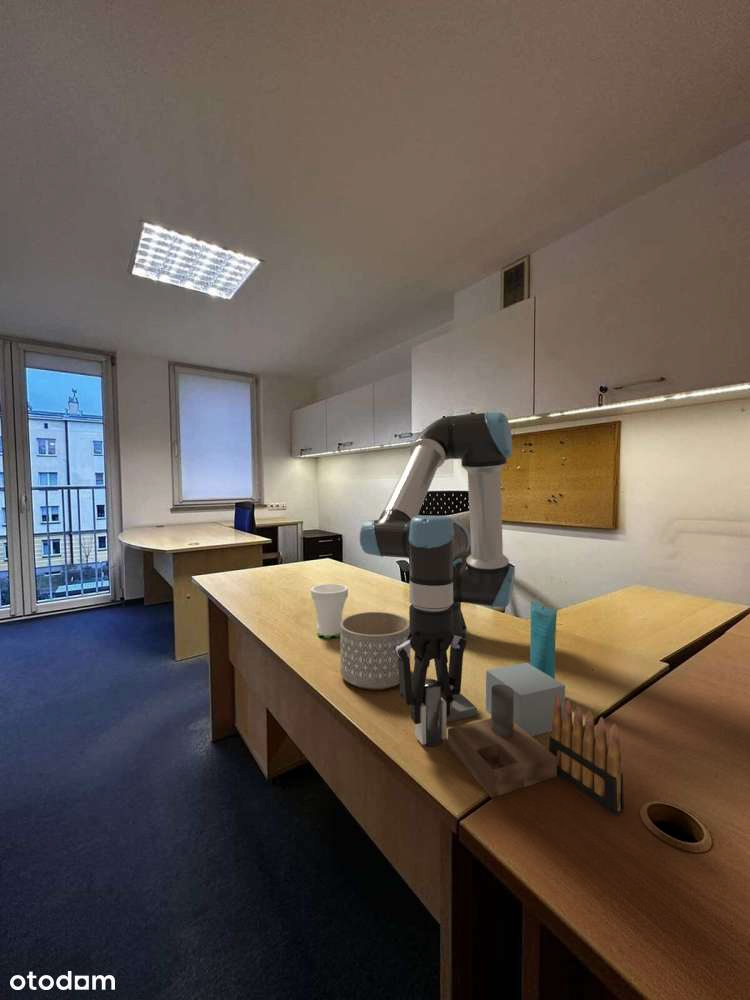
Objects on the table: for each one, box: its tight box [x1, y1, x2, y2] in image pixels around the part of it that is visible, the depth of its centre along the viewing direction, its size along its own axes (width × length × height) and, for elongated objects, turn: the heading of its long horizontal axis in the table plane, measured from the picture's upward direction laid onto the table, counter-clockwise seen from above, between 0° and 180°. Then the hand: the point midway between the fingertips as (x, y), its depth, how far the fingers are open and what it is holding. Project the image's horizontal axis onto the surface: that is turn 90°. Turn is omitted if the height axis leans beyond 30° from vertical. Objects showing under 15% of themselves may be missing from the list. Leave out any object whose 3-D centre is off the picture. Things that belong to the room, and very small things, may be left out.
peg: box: [422, 678, 442, 748], centre depth 69 cm, size 4×4×10 cm
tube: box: [529, 600, 558, 680], centre depth 84 cm, size 7×5×19 cm, turn 26°
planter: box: [339, 611, 411, 691], centre depth 92 cm, size 16×16×13 cm
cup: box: [310, 583, 349, 640], centre depth 118 cm, size 11×11×14 cm
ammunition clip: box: [548, 694, 625, 817], centre depth 58 cm, size 11×2×12 cm, turn 29°
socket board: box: [447, 684, 558, 799], centre depth 63 cm, size 12×12×10 cm
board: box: [446, 666, 478, 723], centre depth 79 cm, size 8×8×6 cm
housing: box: [485, 662, 566, 737], centre depth 75 cm, size 10×10×8 cm
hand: (430, 736), depth 69 cm, fingers closed on peg, 3 cm apart
